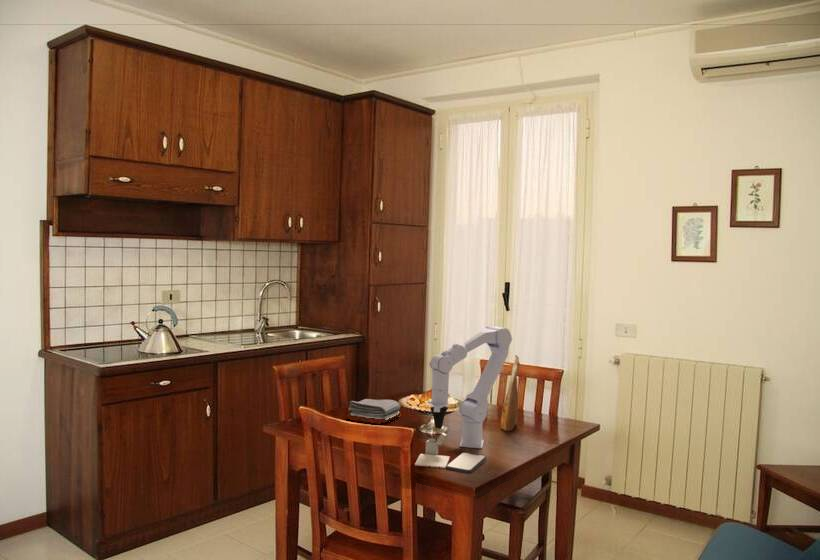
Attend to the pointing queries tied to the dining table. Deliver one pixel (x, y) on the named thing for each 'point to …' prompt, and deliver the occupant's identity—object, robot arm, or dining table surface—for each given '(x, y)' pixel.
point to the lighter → (434, 445)
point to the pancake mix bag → (511, 400)
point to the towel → (374, 408)
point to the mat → (432, 460)
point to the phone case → (466, 462)
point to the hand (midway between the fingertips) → (438, 427)
